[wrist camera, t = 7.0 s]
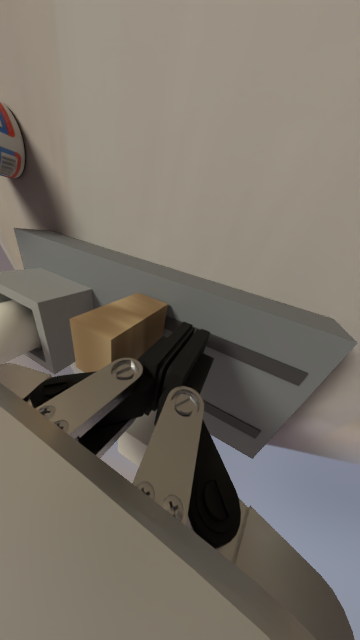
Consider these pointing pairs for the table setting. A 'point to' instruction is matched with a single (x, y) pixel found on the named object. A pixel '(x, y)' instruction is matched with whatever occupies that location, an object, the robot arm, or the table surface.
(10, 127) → the pill bottle
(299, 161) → the table surface
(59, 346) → the panel
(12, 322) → the button ivory
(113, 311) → the lever oak
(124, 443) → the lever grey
